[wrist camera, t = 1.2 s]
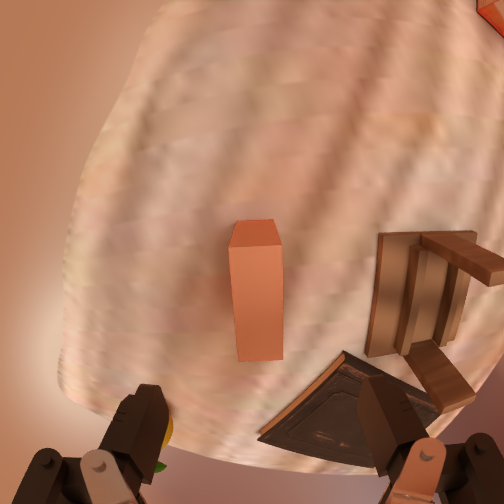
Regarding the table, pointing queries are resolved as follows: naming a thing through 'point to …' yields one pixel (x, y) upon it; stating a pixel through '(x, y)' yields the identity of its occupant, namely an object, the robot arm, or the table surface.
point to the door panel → (257, 290)
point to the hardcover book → (337, 415)
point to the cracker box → (493, 13)
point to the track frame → (427, 304)
